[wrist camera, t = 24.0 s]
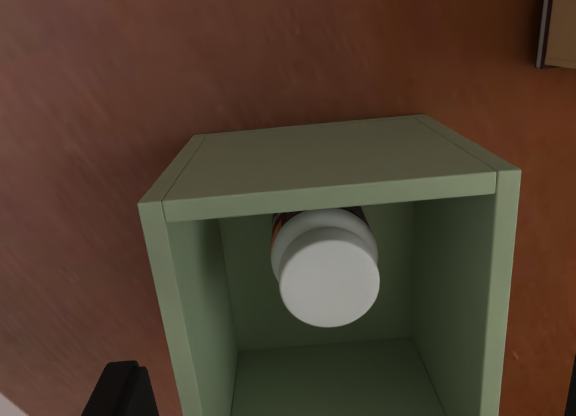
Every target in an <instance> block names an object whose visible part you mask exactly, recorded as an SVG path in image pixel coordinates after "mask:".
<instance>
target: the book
mask: <svg viewBox="0 0 576 416" xmlns="http://www.w3.org/2000/svg"><path fill="white" fill-rule="evenodd" d="M557 67H568V68H576V0H543V2H542V11H541V19H540V28H539V36H538V45H537V53H536V62H535V68H540V69H543V68H557Z"/></svg>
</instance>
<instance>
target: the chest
mask: <svg viewBox="0 0 576 416" xmlns="http://www.w3.org/2000/svg"><path fill="white" fill-rule="evenodd" d="M520 180H521V169H519V168H518V167H516V166H514V165H512V164H511V163H509V162H507V161H505V160H504V159H502V158H500V157H498V156H497V155H495V154H493V153H491V152H490V151H488V150H486V149H484V148H483V147H481V146H479V145H477V144H476V143H474V142H472V141H470V140H469V139H467V138H465V137H463V136H462V135H460V134H458V133H457V132H455V131H453V130H451V129H450V128H448V127H446V126H444V125H443V124H441V123H439V122H437V121H436V120H434V119H432V118H430V117H429V116H427V115H425V114H418V115H407V116H396V117H385V118H374V119H363V120H352V121H341V122H330V123H319V124H308V125H297V126H286V127H275V128H264V129H253V130H242V131H231V132H220V133H209V134H198V135H193V136H192V138H191V139H190V140H189V141H188V142H187V144H186V145H185V146H184V147H183V149H182V150H181V151H180V152H179V153H178V155H177V156H176V157H175V158H174V159H173V161H172V162H171V163H170V164H169V166H168V167H167V168H166V169H165V170H164V172H163V173H162V174H161V175H160V176H159V178H158V179H157V180H156V181H155V183H154V184H153V185H152V186H151V187H150V189H149V190H148V191H147V192H146V194H145V195H144V196H143V197H142V198H141V200H140V201H139V202H138V203H137V206H138V210H139V215H140V219H141V224H142V229H143V233H144V238H145V242H146V247H147V252H148V256H149V261H150V266H151V270H152V275H153V279H154V284H155V289H156V293H157V298H158V302H159V307H160V312H161V316H162V321H163V325H164V330H165V335H166V339H167V344H168V348H169V353H170V358H171V362H172V367H173V371H174V376H175V381H176V385H177V390H178V394H179V399H180V404H181V408H182V413H183V416H498V412H499V401H500V391H501V380H502V370H503V359H504V349H505V338H506V328H507V317H508V307H509V296H510V285H511V275H512V264H513V254H514V243H515V233H516V222H517V212H518V201H519V191H520ZM351 206H361V209H362V211H363V213H364V216H365V218H366V220H367V222H368V224H369V226H370V229H371V231H372V233H373V235H374V237H375V240H376V244H377V249H378V262H377V268H378V271H379V277H380V285H379V291H378V295H377V297H376V300H375V302H374V303H373V305H372V306H371V307H370V309H369V310H368V311H367V312H366V313H365V314H364V315H362V316H361V317H359V318H358V319H356V320H355V321H353V322H351V323H349V324H345V325H342V326H337V327H318V326H313V325H310V324H307V323H305V322H303V321H301V320H299V319H298V318H296V317H295V316H294V315H293V314H292V313H291V312H290V311H289V310H288V309H287V307H286V306H285V304H284V302H283V300H282V298H281V295H280V289H279V282H278V281H277V279H276V277H275V275H274V272H273V269H272V264H271V240H272V216H273V213H283V212H294V211H305V210H317V209H328V208H340V207H351Z"/></svg>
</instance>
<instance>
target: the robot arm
mask: <svg viewBox="0 0 576 416" xmlns="http://www.w3.org/2000/svg"><path fill="white" fill-rule="evenodd" d="M81 416H159V414H158V410H157V406H156V402H155V398H154V394H153V390H152V386H151V382H150V378H149V374H148V371H147V368H146V367H144V366H143V367H139V364H138V362H137V361H135V360H132V361H120V362H110V363H108V364H107V365H106V367H105V368H104V370H103V372H102V374H101V376H100V378H99V380H98V382H97V384H96V386H95V388H94V391H93V393H92V395H91V397H90V399H89V401H88V403H87V405H86V407H85V409H84V411H83V413H82V415H81ZM564 416H576V355H575V360H574V366H573V371H572V376H571V382H570V387H569V393H568V398H567V404H566V409H565V414H564Z"/></svg>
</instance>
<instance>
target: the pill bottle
mask: <svg viewBox="0 0 576 416" xmlns="http://www.w3.org/2000/svg"><path fill="white" fill-rule="evenodd" d="M377 262H378V249H377V244H376V240H375V237H374V235H373V233H372V231H371V229H370V226H369V224H368V222H367V220H366V218H365V216H364V213H363V211H362V209H361V206H351V207H340V208H328V209H317V210H305V211H294V212H283V213H273V216H272V240H271V264H272V269H273V272H274V275H275V277H276V279H277V281H278V282H279V289H280V295H281V298H282V300H283V302H284V304H285V306H286V307H287V309H288V310H289V311H290V312H291V313H292V314H293V315H294V316H295V317H296V318H298V319H299V320H301V321H303V322H305V323H307V324H310V325H313V326H318V327H337V326H342V325H345V324H349V323H351V322H353V321H355V320H356V319H358V318H359V317H361V316H362V315H364V314H365V313H366V312H367V311H368V310H369V309H370V307H371V306H372V305H373V303H374V302H375V300H376V297H377V295H378V291H379V285H380V277H379V271H378V268H377Z"/></svg>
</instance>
